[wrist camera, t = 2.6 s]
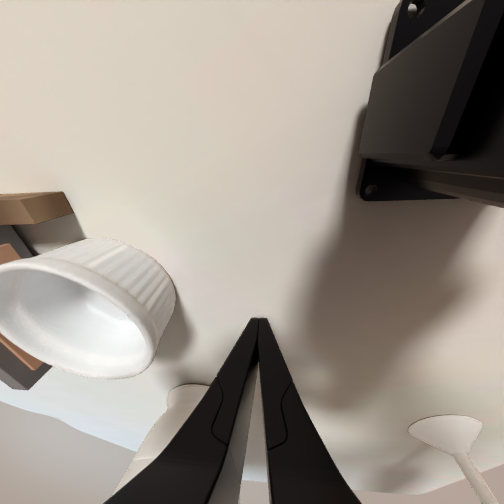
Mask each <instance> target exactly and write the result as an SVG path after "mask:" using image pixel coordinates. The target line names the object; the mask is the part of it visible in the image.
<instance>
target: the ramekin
mask: <svg viewBox="0 0 504 504" xmlns="http://www.w3.org/2000/svg"><path fill="white" fill-rule="evenodd" d="M175 302H176V295H175V289H174V286H173V283H172V281H171V279H170V277H169V276H168V274H167V273H166V271H165V270H164V269H163V268H162V266H161V265H160V264H159V263H158V262H156V261H155V260H154V259H153V258H152V257H150V256H149V255H148V254H146V253H145V252H143V251H142V250H140V249H138V248H136V247H134V246H132V245H130V244H127V243H124V242H121V241H118V240H114V239H107V238H90V239H85V240H81V241H78V242H75V243H72V244H69V245H66V246H63V247H60V248H58V249H55V250H52V251H49V252H46V253H43V254H41V255H38V256H35V257H32V258H26V259H20V260H15V261H11V262H8V263H5V264H2V265H0V333H1V334H2V335H4V336H5V337H6V338H7V339H8V340H10V341H11V342H12V343H13V344H15V345H17V346H18V347H19V348H21V349H22V350H24V351H25V352H27V353H28V354H30V355H31V356H33V357H35V358H37V359H39V360H41V361H43V362H45V363H47V364H49V365H52V366H54V367H56V368H59V369H62V370H64V371H68V372H71V373H74V374H77V375H81V376H86V377H91V378H97V379H124V378H129V377H133V376H136V375H138V374H140V373H142V372H143V371H145V370H146V369H147V368H148V367H149V366H150V365H151V363H152V361H153V359H154V356H155V353H156V350H157V344H158V342H159V340H160V338H161V336H162V334H163V332H164V330H165V328H166V326H167V324H168V322H169V320H170V318H171V315H172V313H173V311H174V308H175Z"/></svg>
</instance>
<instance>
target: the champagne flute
mask: <svg viewBox="0 0 504 504" xmlns="http://www.w3.org/2000/svg"><path fill="white" fill-rule="evenodd" d="M482 427H483V426H482V423H481V422H480V421H478V420H477V419H474V418H471V417H467V416H459V415H443V416H435V417H430V418H426V419H423V420H420V421H417V422H415V423H414V424H412V425H411V426H410V427H409V429H408V432H409V434H410V435H411V436H413V437H415V438H417V439H419V440H421V441H423V442H425V443H427V444H429V445H431V446H433V447H435V448H437V449H439V450H441V451H444V452H446V453H448V454H450V455H452V456H453V457H454V459H455V460H456V462H457V464H458V465H459V467H460V468H461V470H462V472H463V473H464V475H465V477H466V478H467V480H468V482H469V483H470V485H471V486H472V488H473V490H474V492H475V493H476V495H477V496H478V498H479V500H480V501H481V503H482V504H499V503H498V501H497V500H496V498H495V497H494V495H493V494H492V492H491V490H490V489H489V487H488V486H487V484H486V483H485V481H484V480H483V478H482V477H481V475H480V474H479V472H478V471H477V469H476V467H475V466H474V464H473V463H472V461H471V460H470V458H469V457H468V455H467V454H468V453H469V451H470V449H471V447H472V445H473V444H474V442H475V440H476V438H477V437H478V435H479V433H480V431H481V430H482Z"/></svg>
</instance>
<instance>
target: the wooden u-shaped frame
mask: <svg viewBox="0 0 504 504" xmlns="http://www.w3.org/2000/svg"><path fill="white" fill-rule="evenodd" d="M70 213H74V212H73V210H72V209H71V207H70V205H69V203H68V201H67V199H66V197H65V195H64V194H63V192H42V193H20V194H0V225H14V224H37V223H40V222H44V221H47V220H50V219H54V218H57V217H60V216H64V215H67V214H70Z"/></svg>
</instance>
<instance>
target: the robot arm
mask: <svg viewBox="0 0 504 504" xmlns="http://www.w3.org/2000/svg"><path fill="white" fill-rule="evenodd" d="M411 3H412V4H415V5H416V7H417V15H416V17H415V19H411V18H409V16H408V7H409V4H411ZM359 153H360V155H361V156H362V157H363V158H362V163H361V168H360V173H359V177H358V182H357V187H356V194H357V196H358V197H359V198H360V199H362V200H364V201H394V200H425V199H456V198H463V199H467V200H471V201H475V202H480V203H484V204H488V205H492V206H497V207H501V208H504V0H400V2H399V4H398V5H397V7H396V8H395V11H394V14H393V16H392V21H391V25H390V30H389V35H388V40H387V44H386V49H385V54H384V59H383V63H382V67H381V68H380V69H379V70H378V71H377V72H376V73H375V74H374V77H373V81H372V86H371V91H370V96H369V101H368V106H367V111H366V116H365V122H364V127H363V132H362V137H361V142H360V147H359ZM369 185H373V189H372V191H371V192H370V193H369V194H365V190H366V188H367V187H368V186H369ZM258 363H259V371H260V384H261V397H262V410H263V423H264V436H265V449H266V462H267V475H268V488H269V501H270V504H362V503H361V502H360V501H359V499H358V498H357V497H356V495H355V494H354V493H353V491H352V490H351V488H350V487H349V486H348V484H347V483H346V481H345V480H344V478H343V477H342V475H341V473H340V472H339V470H338V468H337V467H336V465H335V463H334V462H333V460H332V458H331V456H330V454H329V452H328V451H327V449H326V447H325V445H324V443H323V441H322V439H321V438H320V436H319V434H318V432H317V430H316V428H315V426H314V425H313V423H312V421H311V419H310V417H309V415H308V413H307V411H306V409H305V407H304V405H303V403H302V401H301V398H300V396H299V394H298V392H297V389H296V387H295V384H294V382H293V380H292V377H291V375H290V373H289V370H288V368H287V365H286V363H285V360H284V358H283V356H282V353H281V351H280V348H279V346H278V343H277V341H276V339H275V336H274V334H273V331H272V329H271V326H270V324H269V322H268V319H267V318H260V319H259V318H251V319H250V321H249V323H248V324H247V326H246V328H245V329H244V331H243V332H242V334H241V336H240V337H239V339H238V341H237V342H236V344H235V346H234V347H233V349H232V351H231V352H230V354H229V356H228V357H227V359H226V361H225V362H224V364H223V366H222V367H221V369H220V371H219V372H218V374H217V377H215V379H214V380H213V382H212V384H211V385H210V387H209V388H208V390H207V392H206V393H205V395H204V396H203V398H202V399H201V401H200V402H199V403H198V405H197V406H196V408H195V409H194V410H193V412H192V413H191V414H190V416H189V417H188V418H187V420H186V421H185V422H184V424H183V425H182V426H181V428H180V429H179V430H178V432H177V433H176V434H175V436H174V437H173V438H172V440H171V441H170V442H169V444H168V445H167V446H166V447H165V449H164V450H163V451H162V452H161V453H160V454H159V455H158V456H157V457H156V458H155V459H154V460H153V461H152V462H151V463H150V464H149V465H148V466H147V467H145V468H144V469H143V470H142V471H141V472H140V473H138V474H137V475H136V476H135V477H134V478H132V479H131V480H130V481H129V482H128V483H127V484H125V485H124V486H123V487H122V488H121V489H120V490H118V491H117V492H116V493H115V494H114V495H113V496H112V497H110V498H109V499H108V500H107V501H106V502H104V503H103V504H238V500H239V493H240V484H241V479H242V473H243V466H244V459H245V452H246V446H247V439H248V432H249V425H250V418H251V412H252V405H253V398H254V391H255V384H256V378H257V371H258Z"/></svg>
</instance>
